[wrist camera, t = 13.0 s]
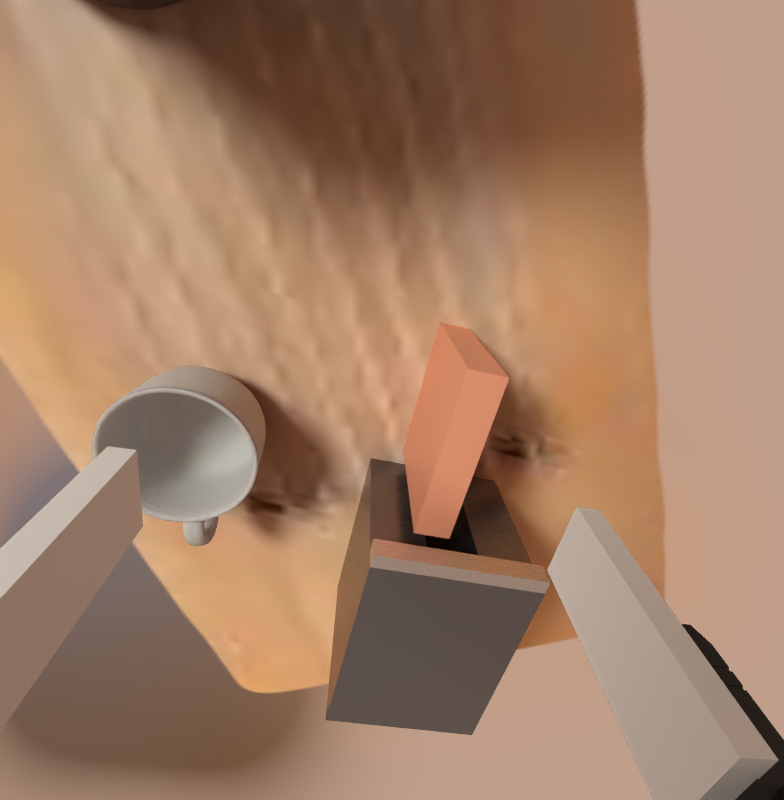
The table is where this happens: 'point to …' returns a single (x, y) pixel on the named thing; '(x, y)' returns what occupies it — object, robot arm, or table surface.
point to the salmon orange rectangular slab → (450, 427)
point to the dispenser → (428, 610)
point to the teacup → (188, 445)
